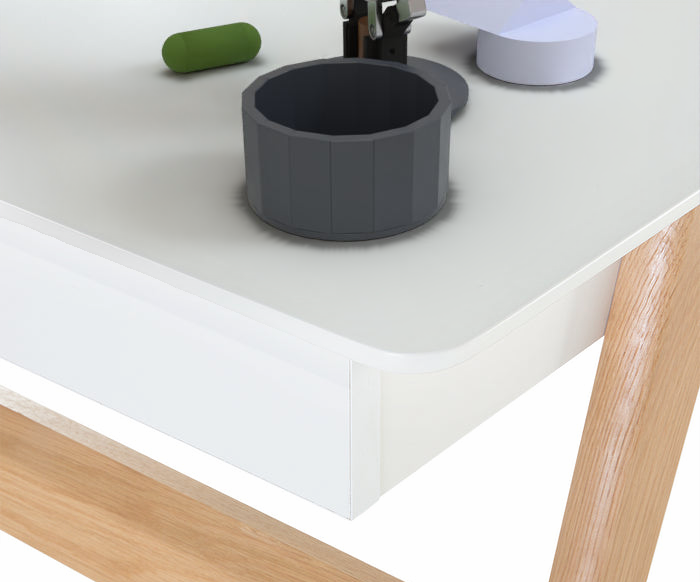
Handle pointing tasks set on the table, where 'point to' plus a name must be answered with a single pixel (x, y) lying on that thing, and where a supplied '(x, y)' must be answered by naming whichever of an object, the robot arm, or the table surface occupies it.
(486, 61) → the wedge on round base
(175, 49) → the pickle
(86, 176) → the table surface
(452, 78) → the lid
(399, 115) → the pot
